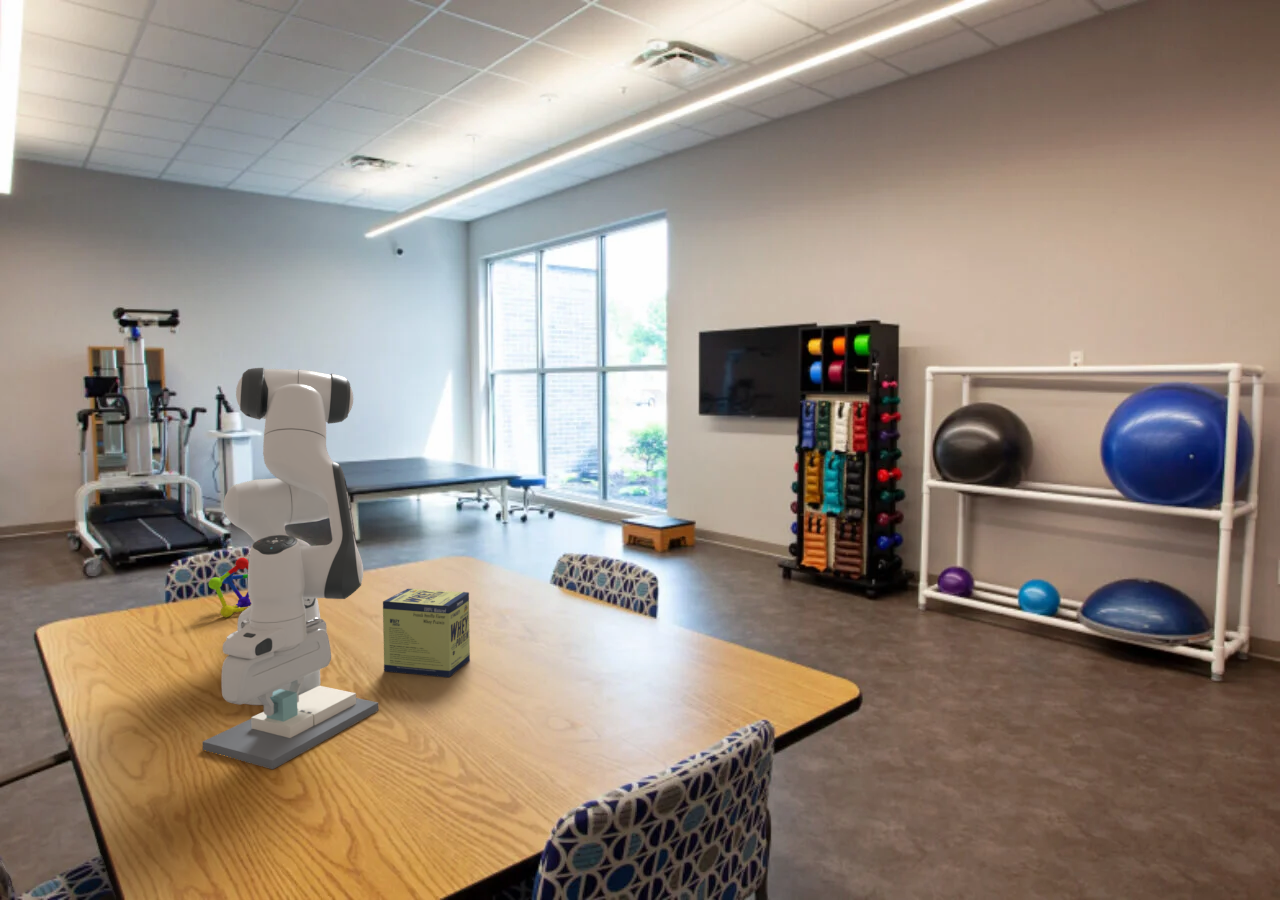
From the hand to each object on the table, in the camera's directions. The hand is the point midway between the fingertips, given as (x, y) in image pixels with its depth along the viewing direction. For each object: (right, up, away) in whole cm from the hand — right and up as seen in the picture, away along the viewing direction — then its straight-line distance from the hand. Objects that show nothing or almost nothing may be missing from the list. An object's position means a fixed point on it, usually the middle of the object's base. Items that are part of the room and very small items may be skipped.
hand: (281, 708), depth 134 cm
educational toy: (-44, +2, +72) cm, 85 cm away
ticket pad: (+3, -3, +7) cm, 9 cm away
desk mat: (+1, -5, +3) cm, 6 cm away
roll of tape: (-10, -3, +21) cm, 23 cm away
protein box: (+16, -2, +33) cm, 37 cm away
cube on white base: (0, -3, 0) cm, 3 cm away
